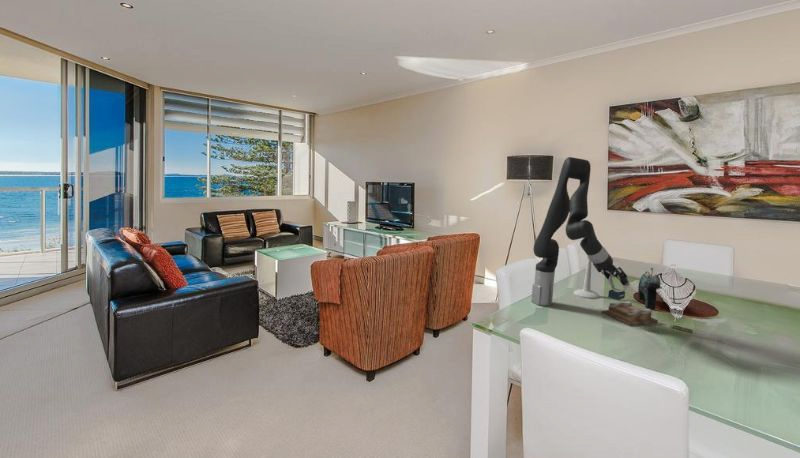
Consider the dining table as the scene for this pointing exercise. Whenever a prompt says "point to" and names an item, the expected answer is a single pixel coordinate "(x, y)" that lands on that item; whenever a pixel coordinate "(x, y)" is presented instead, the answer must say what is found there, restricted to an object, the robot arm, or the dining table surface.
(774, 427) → the dining table surface
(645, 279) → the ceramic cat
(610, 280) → the watch
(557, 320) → the dining table surface
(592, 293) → the candlestick
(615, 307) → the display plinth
